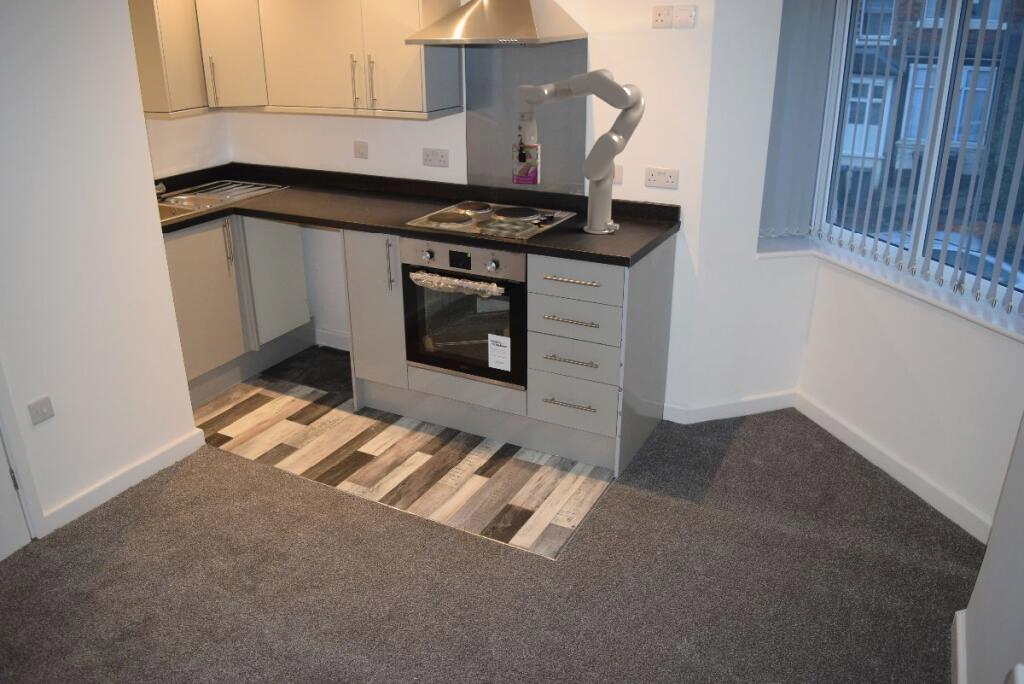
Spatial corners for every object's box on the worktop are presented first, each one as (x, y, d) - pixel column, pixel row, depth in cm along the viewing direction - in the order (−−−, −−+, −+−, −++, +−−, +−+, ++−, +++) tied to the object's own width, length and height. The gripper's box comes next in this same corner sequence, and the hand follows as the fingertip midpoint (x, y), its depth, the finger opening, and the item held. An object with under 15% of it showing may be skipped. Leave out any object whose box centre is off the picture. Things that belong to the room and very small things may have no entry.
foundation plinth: (538, 230, 341) (538, 222, 340) (516, 239, 328) (516, 231, 327) (501, 224, 350) (501, 217, 349) (479, 233, 337) (479, 226, 335)
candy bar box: (512, 184, 346) (511, 144, 340) (515, 181, 350) (514, 142, 344) (537, 185, 343) (537, 145, 337) (540, 182, 347) (540, 143, 341)
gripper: (523, 119, 328) (523, 164, 335) (544, 114, 341) (544, 158, 348) (507, 118, 331) (508, 163, 338) (528, 114, 345) (529, 157, 352)
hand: (526, 160), depth 343 cm, fingers closed on candy bar box, 5 cm apart
